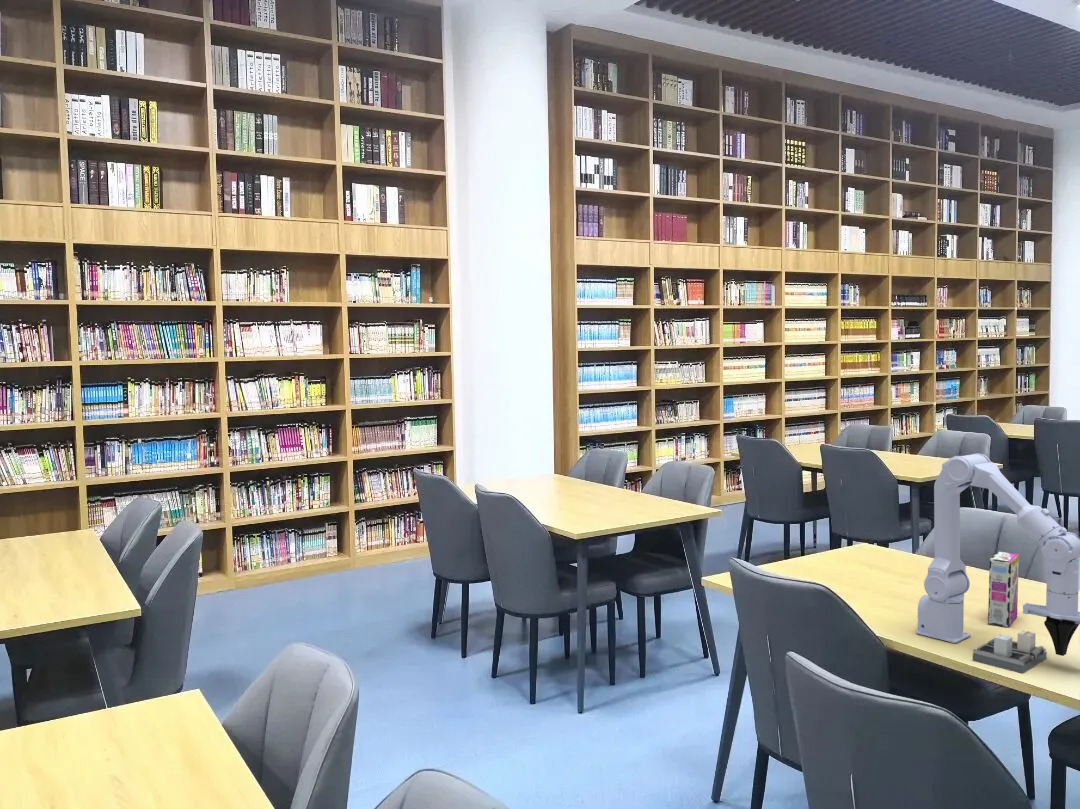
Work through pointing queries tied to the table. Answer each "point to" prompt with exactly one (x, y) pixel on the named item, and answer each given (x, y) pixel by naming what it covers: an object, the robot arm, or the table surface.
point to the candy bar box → (1003, 589)
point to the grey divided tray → (1016, 662)
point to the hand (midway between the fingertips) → (1061, 654)
